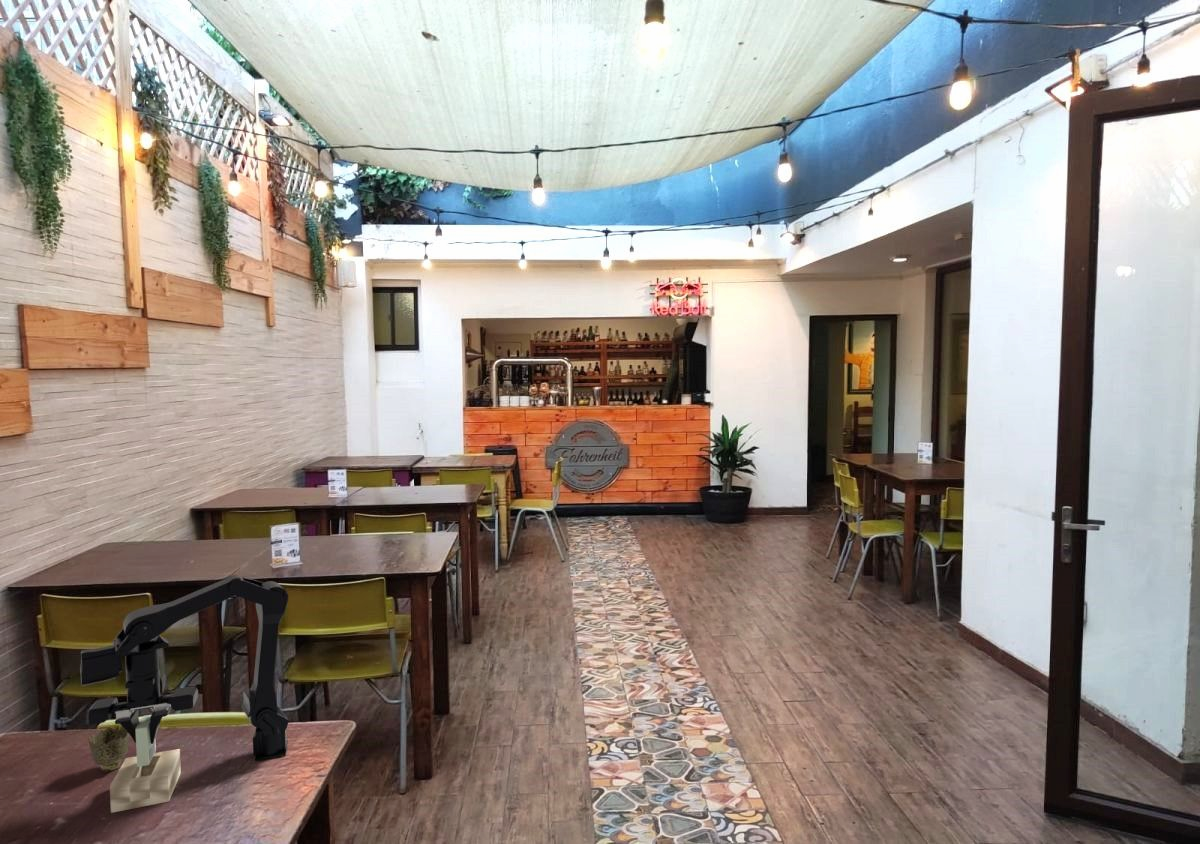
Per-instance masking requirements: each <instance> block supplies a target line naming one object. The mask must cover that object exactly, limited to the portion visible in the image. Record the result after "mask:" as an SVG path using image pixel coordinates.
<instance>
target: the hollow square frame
mask: <svg viewBox="0 0 1200 844" xmlns="http://www.w3.org/2000/svg"><path fill="white" fill-rule="evenodd" d="M181 766H182V765H181V749H180V748H177V749H171V750H163V751H159V752H155V753H154V755H153V757H152V759H151V761H150V763H149V765H146V766H141V767H137V755H136V756H131V757H129V756H128V757H126V758H125V759H124V761H123V762H122V763H121V765H120V767H119V770H118V771H117V773H116V775H115V777H114V778H113V780H112V781H111V783H110V786H109V797H110V798H109V799H110V800H109V801H110V813H111V814H114V813H118V812H123V811H126V810H132V809H138V808H143V807H147V806H153V805H158V804H162V803H167V802H170V800H171V797H172V796H173V795H172V794H173V792H174V791H175V789H176V785H177V783H178V780H179V778H180V776H181V773H182V771H181V770H182V769H181V768H182V767H181Z"/></svg>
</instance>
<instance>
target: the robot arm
mask: <svg viewBox="0 0 1200 844" xmlns="http://www.w3.org/2000/svg"><path fill="white" fill-rule="evenodd" d="M234 597H238V598H240V599H241V598H242V599H244V600H247V601H250V602H252V603H254V604H255V609H256V613H257V619H258V630H257V631H258V632H257V641H256V652H255V661H254V664H255V665H254V671H253V681H252V684H251V687H250V689H243V690H242V693H243V694H242V695H243V700H242V701H243V702H242V704H241V709H242V711H243V713H244V714H245V715H246V717H247V719H248V720H249V722H250V724H251V725H252V726H253V727H254V728H255V731H254V732H253V734H252V735H253V736H252V752H253V754H252V755H254V761H255V762H256V761H262V760H263V761H264V760H267V759H273V758H279V757H284V756H286V755H287V751H288V746H289V745H288V744H289V741H288V739H287V735H288V734H287V729H288V728H287V727H288V726H289V723H290V720H289V718H288V717H287V716H286V714H285V713H284V712H283V710H282V709H281V707H280V706H278V699H277V695H276V690H275V689H276V688H275V684H274V683H275V674H276V663H277V661H276V660H277V654H278V653H277V652H278V643H279V642H278V641H279V640H278V639H279V630H280V629H279V628H280V623H281V622H282V619H283V617H284V615H285V613H286V611H287V610H286V609H287V606H288V602H289V593H288V591H287V590H286V589H285V588H284V587H282V586H281V585H280V584H279V583H278V582H275V581H271V580H270V581H265V582H263V581H259V580H256V579H252V578H249V577H248V578H246V577H242V576H240V575H238V574H231V575H229V576H227V577H225V578H223V579H222V580H220V581H217V582H215V583H212V584H210V585H208V586H205V587H203V588H200V589H198V590H196V591H194V592H191V593H188V594H187V595H184V596H182V597H180V598H177V599H175V600H172V601H169V602H166V603H161V604H154V605H153V604H152V605H149V606H145V607H141V608H138V609H135V610H132V611H131V612H129V613H128V614H127V615H126V617H125V618H124V620H123V624H122V629H121V630H120V632H118V634H116V636H115V638H114V639H113V641H112V645H105V646H103V647H97V648H88V649H82V650H81V651H80V664H79V666H80V667H79V670H80V683H81V687H83V686H84V687H85V686H88V685H93V684H98V683H102V682H106V681H111V680H115V679H117V677H118V676H120V673H122V672H123V660H122V658H123V657H124V658H125V661H124V662H125V681H126V682H125V690H126V701H122V702H118V700H119V699H118V698H117V697H115V696H114V697H110V698H109V697H108V698H104V699H97V700H96V701H94V703H93V704H92V705H91V706H90V708H89V709H88V710H87V711H86V715H85V716H86V717H85V719H86V720H85V721H86V725H88V726H90V725H97V724H103V723H106V722H107V720H108V719H109V718H110V715H115V718H116V719H115V721H114V724H115V725H121V727H122V726H123V727H124V728H125V730H126V731H127V732H128V733H129V737H131V738H132V740H133V741H134V743H135V744H136V730H135V729H136V728H137V726H138V724H139V723H140V718H139V711H140V710H144V709H151V708H153V712H152V714H150V715H151V719H150V741H151V744H153V743H154V741H155V739H157V737H156V736H157V734H158V731H159V727H160V725H161V722H162V719H163V717H167V716H168V715H169V714H170V712H171V709H172V710H173V711H175V712H178V711H184V710H185V711H186V710H190V709H193V708H194V707H195V705H196V702H197V700H198V697H199V690H198V688H197V686H195V685H191V686H183V687H177V688H176V689H175V690H174V692H173V694H166V695H161V694H163V693H164V691H165V690H166V679H167V677H166V676H167V674H166V673H165V674H161V670H160V669H161V668H160V662H159V661H160V660H159V659H160V658H159V650H161V649H164V648H168V647H169V646H170V643H169V641H168V640H167V638H165V637H163V636H161V634H163V633H165V632H166V631H168V629H170V628H171V627H172V626H173V625H175V624H176V623H178V622H180V621H181V620H184V619H186V618H188V617H190V616H193V615H195V614H197V613H199V612H202V611H203V610H204V611H205V610H206V609H209V608H210V607H213V606H216V605H218V604H220V603H223V602H225V601H227V600H228V599H229V600H230V599H231V598H234Z"/></svg>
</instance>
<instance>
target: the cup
mask: <svg viewBox="0 0 1200 844" xmlns="http://www.w3.org/2000/svg"><path fill="white" fill-rule="evenodd" d="M88 743H89V748H90V749H89V750H90V754H91V757H92V760H93V762H94V763H95V764H97V765H98V766H100V770H101V771H102V772H112V771H114V770H116V769H118V768H120V767H121V765H122V759H124V757H125V756H126V755H127V753H128V749H129V743H130V734H129V733H128V732H127V731H126V730H125V728H124V727H123V726H122V725H121V727H119V725H116V726H115V727H114V728H113V727H111V726H109V727H107V728H105V729H104V730H103V729H99V731H98V734H97V735H95V734H91V735H90V737H89V738H88Z"/></svg>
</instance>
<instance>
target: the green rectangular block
mask: <svg viewBox="0 0 1200 844" xmlns="http://www.w3.org/2000/svg"><path fill="white" fill-rule="evenodd" d="M151 715H152V714H148V715H143V716H142V718H141V719H140V720H139V724H138V726H137V728H136V729H135V730H136V743H135V746H136V756H137V767H141V766H146V765H149V763H150V761H151V759H152V757H153V755H154V753H156V752H157V747H156V746H157V743H156V741H157V740H156V739H157V738H155V741H154V743H153V744H151V741H150V719H151Z"/></svg>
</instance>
